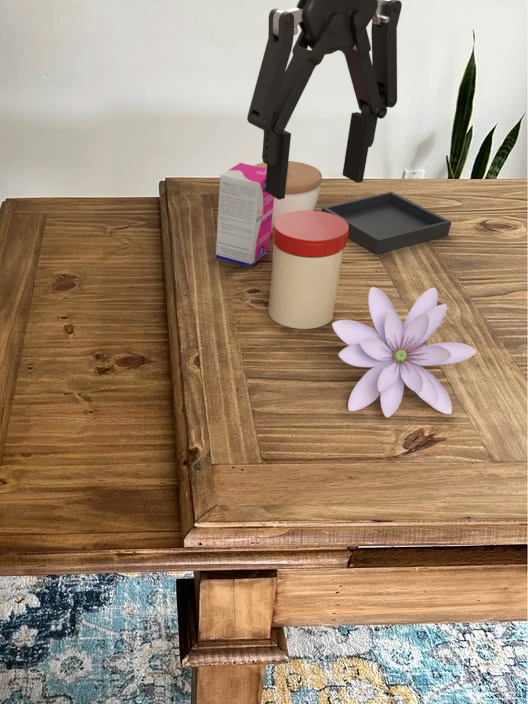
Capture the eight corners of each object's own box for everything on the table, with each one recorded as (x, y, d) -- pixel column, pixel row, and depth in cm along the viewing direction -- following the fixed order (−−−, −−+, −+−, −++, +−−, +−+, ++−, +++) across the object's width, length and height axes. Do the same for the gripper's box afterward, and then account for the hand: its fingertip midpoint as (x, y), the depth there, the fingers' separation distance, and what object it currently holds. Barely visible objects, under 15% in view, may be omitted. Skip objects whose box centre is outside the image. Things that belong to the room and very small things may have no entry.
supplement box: (252, 268, 99) (258, 183, 91) (214, 259, 101) (216, 174, 94) (271, 252, 103) (278, 168, 95) (233, 243, 105) (237, 161, 97)
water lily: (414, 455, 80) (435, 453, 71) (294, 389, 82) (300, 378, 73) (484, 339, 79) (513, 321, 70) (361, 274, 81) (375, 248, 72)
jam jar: (346, 319, 89) (361, 235, 82) (291, 335, 86) (301, 249, 79) (308, 291, 94) (318, 210, 87) (255, 306, 92) (262, 223, 84)
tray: (448, 235, 106) (451, 221, 105) (375, 254, 102) (378, 240, 100) (388, 204, 115) (391, 191, 114) (319, 221, 111) (321, 207, 109)
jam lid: (361, 247, 83) (364, 231, 81) (299, 263, 80) (301, 246, 79) (317, 220, 88) (319, 205, 87) (258, 234, 85) (259, 219, 84)
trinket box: (274, 247, 104) (280, 180, 98) (229, 222, 111) (231, 158, 104) (330, 229, 108) (339, 164, 102) (283, 206, 115) (289, 143, 109)
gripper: (263, -56, 59) (245, 217, 74) (471, -71, 66) (416, 180, 81) (216, -65, 64) (208, 192, 79) (415, -79, 71) (373, 159, 86)
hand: (314, 186), depth 80 cm, fingers open, 10 cm apart
